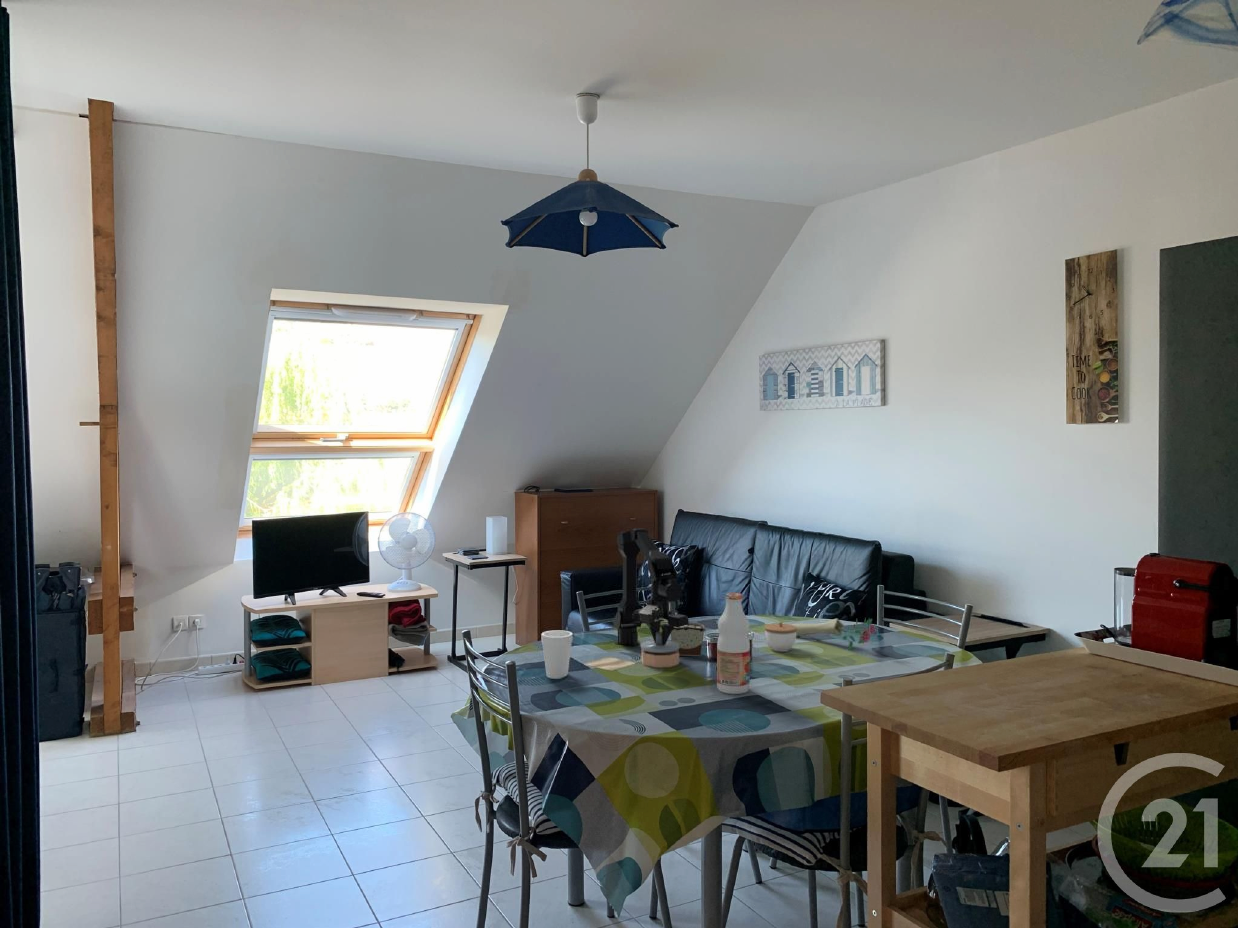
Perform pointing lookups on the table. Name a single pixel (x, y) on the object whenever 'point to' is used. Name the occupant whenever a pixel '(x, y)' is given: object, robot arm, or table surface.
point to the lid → (659, 645)
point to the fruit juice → (733, 648)
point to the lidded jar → (780, 636)
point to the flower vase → (835, 630)
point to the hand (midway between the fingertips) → (660, 643)
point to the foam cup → (556, 652)
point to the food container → (689, 638)
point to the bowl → (660, 659)
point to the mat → (609, 663)
